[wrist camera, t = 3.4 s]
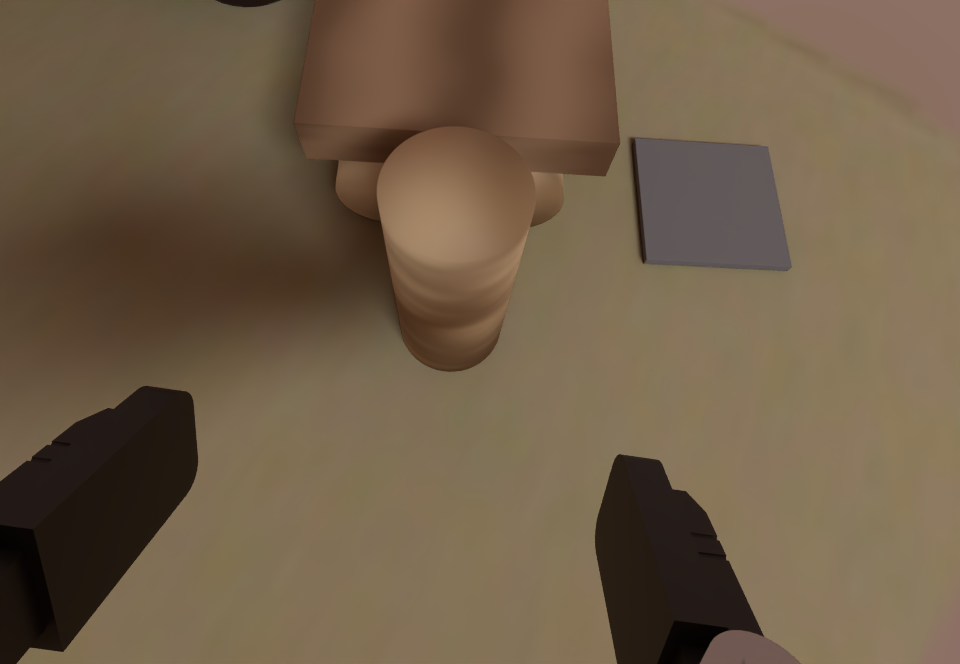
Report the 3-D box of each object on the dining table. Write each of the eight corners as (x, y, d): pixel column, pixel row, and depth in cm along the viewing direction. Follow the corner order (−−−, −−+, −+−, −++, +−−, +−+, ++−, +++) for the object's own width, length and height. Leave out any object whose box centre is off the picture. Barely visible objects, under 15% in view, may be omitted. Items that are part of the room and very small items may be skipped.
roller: (397, 369, 24) (369, 256, 15) (404, 276, 25) (383, 121, 16) (499, 373, 24) (537, 265, 15) (500, 281, 26) (535, 131, 16)
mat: (643, 263, 26) (646, 259, 26) (632, 143, 29) (635, 138, 29) (787, 270, 27) (791, 266, 26) (763, 151, 29) (767, 146, 29)
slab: (327, 218, 26) (293, 122, 20) (349, 57, 30) (326, -66, 24) (579, 232, 27) (619, 143, 21) (572, 72, 30) (604, -43, 24)
